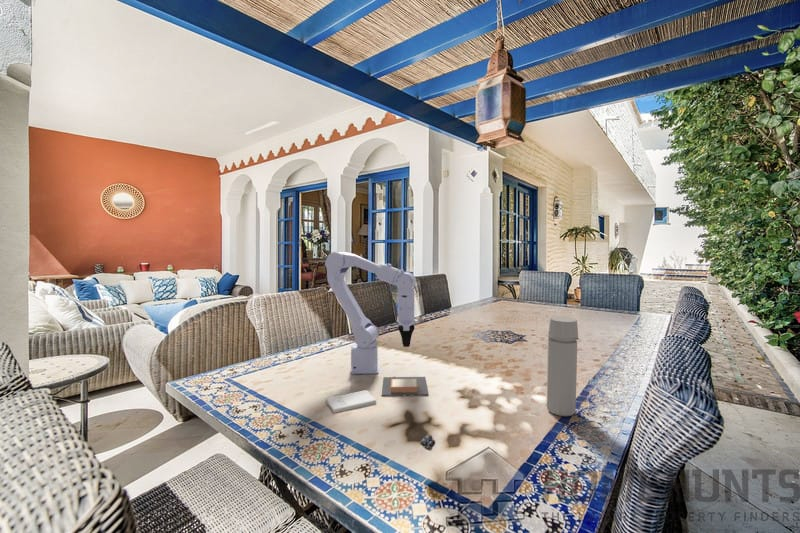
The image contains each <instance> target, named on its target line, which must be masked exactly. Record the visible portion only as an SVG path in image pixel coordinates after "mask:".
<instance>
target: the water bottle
mask: <svg viewBox="0 0 800 533" xmlns="http://www.w3.org/2000/svg"><path fill="white" fill-rule="evenodd" d="M578 328H579V327H578V320H577V319H576V318H573V317H569V316H552V317H549V325H548V334H546V337H547V366H546V367H547V372H546V375H547V376H546V409H547V410H548V412H550V413H551V414H553V415H556V416H560V417H570V416H573V415H574V414H575V413H577V412H576V411H577V371H578V370H577V369H578V368H577V366H578V340H580V337H579V329H578Z"/></svg>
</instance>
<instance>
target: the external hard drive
mask: <svg viewBox="0 0 800 533" xmlns="http://www.w3.org/2000/svg"><path fill="white" fill-rule="evenodd" d="M325 402H326V404H327V405H328V406H329V407H330V410H331V411H332V413H333V414H335V413H340V412H344V411H349V410H353V409H358V408H362V407H367V406H370V405H371V406H372V405H375V404H377V399H376V398H375V397H374V396H373V395H372V394H371V393H370V392H369V391H368V390H367V389H365V390H364V389H363V390H360V391H355V392H350V393H346V394H341V395H336V396H331V397H326V398H325Z"/></svg>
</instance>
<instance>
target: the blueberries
mask: <svg viewBox="0 0 800 533" xmlns="http://www.w3.org/2000/svg"><path fill="white" fill-rule="evenodd" d="M435 444H436V441H435V439H434V438H433V436H432V435H431V434H428V435H425V436H424V437H422V438H421V439H420V445H422V446H423V447H424V449H426V450H431V451H432V449H433V447H434V446H435Z"/></svg>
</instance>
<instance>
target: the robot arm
mask: <svg viewBox="0 0 800 533" xmlns="http://www.w3.org/2000/svg"><path fill="white" fill-rule="evenodd" d="M324 267H325V268H326V276H327V277H326V279H327V280H326V281H327V284H328V285H329V287H330V288H331V290H332V292H333V294H334V295H335V297H336V299H337V301H338V302H339V304H340V306H341V307H342V309H343V310H344V312H345V315H346V316H347V318H348V320H349V321H350V323H351V325H352V327H351V332H352V333H353V337H354V343H355V344H356V345H352V346H351V349H350V350H351V351H350V369H351V370H350V373H351V375H352V374H353V375H357V374H358V375H359V374H360V375H361V374H362V375H364V374H367V375H368V374H369V375H370V374H379V370H380V364H378V363H379V362H378V361H379V360H378V356H379V355H378V352H379V351H378V342H377V340H378V338H379V335H380V331H379V328H378V327H377V326H376V325H374V324H373V323H372V321H371V320H370V319H369V318H368V317H366V316H365V314H364V313H363V310H362V308H361V307H360V305H359V304H358V302H357V300H356V299H355V297H354V295H353V293H352V292H351V290H350V288H349V286H348V284H347V282H346V281H345V276H346V274H347V271H349V268H352V267H356V268H358V269H361V270H364V271H367V272H370V273H373V274H376V277H377V279H378V280H381V281H383V282H385V283H388V284H389V285H392V286H396V287H397V324H399V325H398V326H397V329H398V330H397V331H399V334H400V337H401V343H402V346H403V348H410V346H411V340H412V335H413V332H414V331H415V324H417V323H418V322H419V319H415V287H414V286H415V285H416V277H415V275H414V274H413V273H411V272H410V271H405V270H404V269H403V268H401V269H398V268H396V267H394V266H392V264H391V263H383V264H380V265H379V264H377V263H375V262H373V261H371V260H369V259H367V258H364V257H362V256H359V255H358V254H355V253H352V252H348V251H346V250H345V251H338V252H337V251H334V252H330V253H329V254H328V255H327V256H326V259H325V263H324ZM404 271H405V272H404Z"/></svg>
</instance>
